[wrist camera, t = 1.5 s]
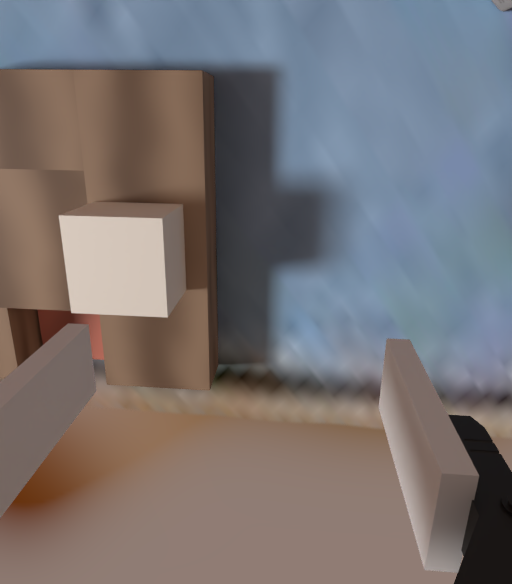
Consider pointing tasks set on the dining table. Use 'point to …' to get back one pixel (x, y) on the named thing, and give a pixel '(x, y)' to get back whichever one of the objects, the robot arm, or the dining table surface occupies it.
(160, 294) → the block
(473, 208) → the dining table surface
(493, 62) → the dining table surface
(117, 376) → the wooden board
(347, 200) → the dining table surface
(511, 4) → the coffee box
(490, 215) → the dining table surface
